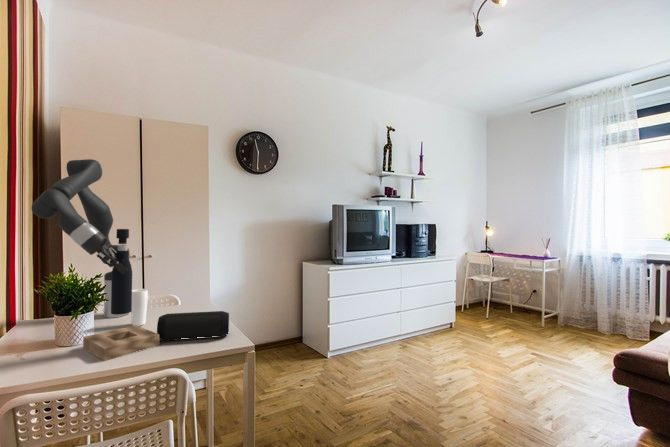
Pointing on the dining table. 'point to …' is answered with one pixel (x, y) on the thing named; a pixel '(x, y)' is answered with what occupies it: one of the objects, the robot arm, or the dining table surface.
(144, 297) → the drinking glass
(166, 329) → the portable speaker
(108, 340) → the walnut jig
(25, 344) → the dining table surface
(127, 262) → the black bottle
